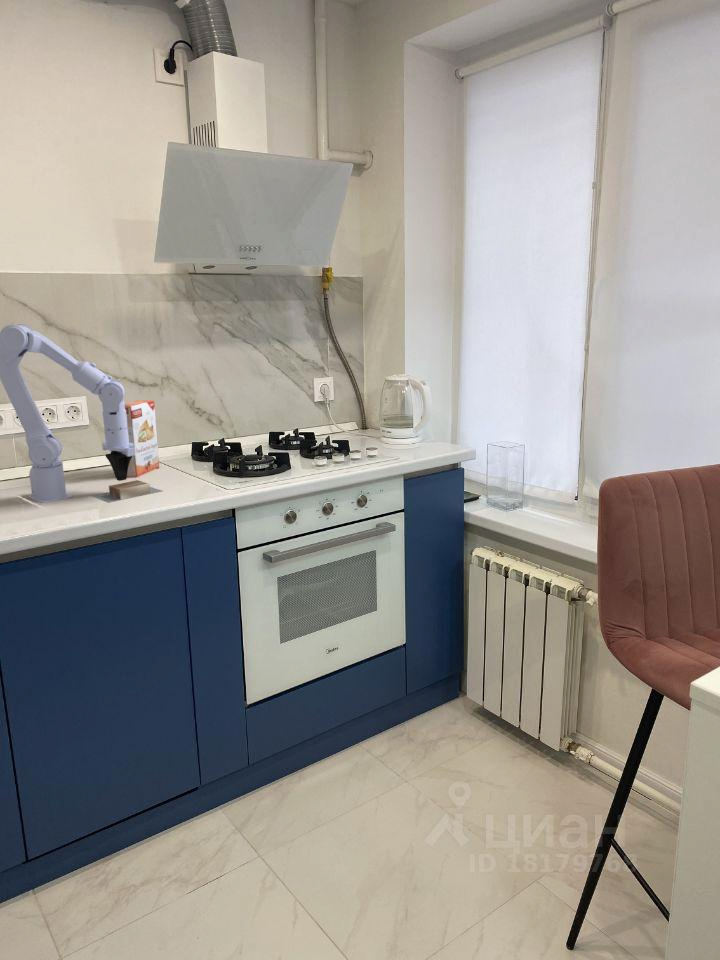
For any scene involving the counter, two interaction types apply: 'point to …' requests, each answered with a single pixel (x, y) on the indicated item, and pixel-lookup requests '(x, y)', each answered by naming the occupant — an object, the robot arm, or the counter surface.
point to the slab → (129, 489)
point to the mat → (109, 498)
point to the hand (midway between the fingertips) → (121, 479)
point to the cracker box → (142, 437)
